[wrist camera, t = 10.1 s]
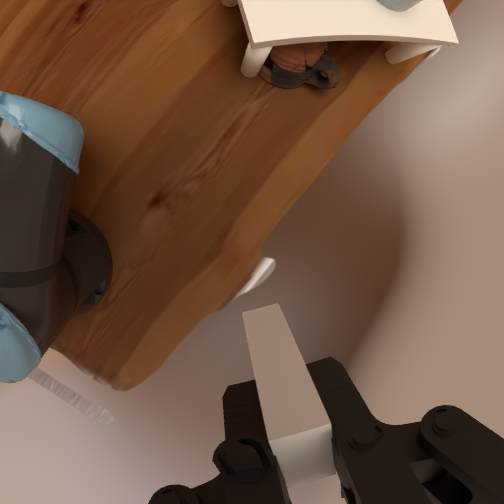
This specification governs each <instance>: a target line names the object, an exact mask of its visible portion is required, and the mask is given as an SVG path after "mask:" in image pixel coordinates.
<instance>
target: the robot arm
mask: <svg viewBox="0 0 504 504" xmlns="http://www.w3.org/2000/svg"><path fill="white" fill-rule="evenodd" d="M83 141H84V130H83V127H82V126H81V124H80V123H79V121H78V120H76V119H75V118H74V117H72V116H70V115H68V114H66V113H64V112H62V111H60V110H57V109H55V108H53V107H50V106H48V105H45V104H42V103H40V102H37V101H34V100H31V99H28V98H25V97H22V96H18V95H11V94H10V93H5V92H2V91H0V382H4V383H15V382H17V381H22V380H23V379H25V378H26V377H27V376H28V375H29V374H30V373H31V372H32V370H33V369H34V368H35V367H37V366H38V365H39V363H40V361H41V358H42V357H43V355H44V354H45V352H46V351H47V349H48V348H49V347H50V345H51V344H52V342H53V341H54V340H55V338H56V337H57V336H58V334H59V333H60V332H61V330H62V329H63V327H64V326H65V325H66V323H67V322H68V321H69V319H70V318H71V317H74V316H77V315H79V314H82V313H84V312H87V311H89V310H90V309H92V308H93V307H94V306H95V305H96V304H97V303H98V302H99V301H100V300H101V298H102V297H103V296H104V294H105V293H106V291H107V289H108V287H109V285H110V282H111V277H112V259H111V254H110V251H109V248H108V245H107V243H106V241H105V239H104V237H103V235H102V234H101V232H100V231H99V230H98V229H97V227H96V226H95V225H94V224H93V223H92V222H90V221H89V220H88V219H87V218H85V217H83V216H82V215H80V214H77V213H75V212H71V211H69V208H70V203H71V198H72V193H73V188H74V184H75V179H76V175H78V174H79V168H78V164H79V159H80V155H81V150H82V146H83ZM242 315H243V320H244V325H245V330H246V335H247V341H248V346H249V350H250V356H251V360H252V366H253V370H254V375H255V380H251V381H247V382H243V383H239V384H234V385H230V386H228V387H227V389H226V391H225V393H224V395H223V398H222V399H223V410H224V412H223V413H224V426H225V438H226V440H225V441H223V442H222V443H221V444H219V446H218V447H217V449H216V450H215V451H214V455H213V460H212V461H213V462H214V464H215V465H216V467H217V468H218V470H219V471H220V474H219V475H218V476H217V477H215V478H214V479H212V480H211V481H209V482H207V483H204V484H202V485H199V486H197V487H194V488H192V489H190V488H188V487H186V486H183V485H168V486H166V487H163V488H161V489H159V490H158V491H157V492H155V493H154V494H153V496H152V497H151V500H150V501H149V503H148V504H292V503H291V500H290V498H289V494H288V490H287V488H289V487H293V486H297V485H300V484H304V483H308V482H311V481H315V480H318V479H322V478H324V477H328V476H331V475H334V474H336V471H337V473H338V476H339V479H340V482H341V496H342V498H345V500H346V503H347V504H504V439H503V438H502V437H500V436H499V435H497V434H496V433H494V432H493V431H492V430H490V429H489V428H487V427H486V426H484V425H483V424H481V423H480V422H479V421H477V420H476V419H474V418H473V417H471V416H470V415H469V414H467V413H466V412H464V411H463V410H461V409H459V408H457V407H455V406H450V405H442V406H437V407H435V408H433V409H431V410H429V411H428V412H427V413H426V415H424V417H423V418H422V421H420V422H415V423H409V424H403V425H389V424H385V423H382V422H380V421H379V420H377V419H376V418H375V417H374V416H373V415H372V414H371V412H370V410H369V409H368V407H367V405H366V404H365V402H364V400H363V399H362V397H361V395H360V393H359V392H358V390H357V388H356V387H355V385H354V384H353V382H352V380H351V378H350V377H349V376H348V373H347V372H346V370H345V368H344V367H343V365H342V363H340V362H338V361H337V360H335V359H334V358H332V357H328V358H324V359H321V360H318V361H315V362H312V363H309V364H305V363H304V361H303V358H302V356H301V354H300V352H299V349H298V347H297V345H296V343H295V340H294V338H293V336H292V333H291V331H290V329H289V327H288V324H287V322H286V320H285V317H284V315H283V313H282V311H281V309H280V306H279V304H278V303H276V304H273V305H269V306H266V307H262V308H258V309H255V310H250V311H247V312H243V313H242Z"/></svg>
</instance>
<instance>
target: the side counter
mask: <svg viewBox="0 0 504 504" xmlns="http://www.w3.org/2000/svg"><path fill="white" fill-rule="evenodd" d="M222 4H223V5H224V6H227V7H234V6H236V5H237V4H238V5H239V8H240V11H241V15H242V18H243V21H244V25H245V28H246V32H247V35H248V39H249V43H248V46H247V50H246V53H245V56H244V59H243V62H242V65H241V73H242V74H243V75H244V76H245V77H248V78H252V77H255V76H256V75H257V74H258V73H259V71H260V69H261V67H262V65H263V63H264V62H265V60H266V58H267V56H268V54H269V53H270V51H271V49H272V47H273V46H279V45H288V44H297V43H308V42H322V41H345V40H380V41H402V42H404V43H402V44H400V45H398V46H396V47H394V48H392V49H390V50H388V51H386V53H385V58H386V60H387V61H388V62H389V63H390V64H397V63H399V62H402V61H404V60H406V59H409V58H411V57H414V56H416V55H419V54H421V53H424V52H427V51H429V50H432V49H435V48H437V47H440V46H452V45H455V44H458V40H457V37H456V34H455V31H454V29H453V26H452V23H451V20H450V18H449V15H448V12H447V10H446V8H445V5H444V3H443V0H423V1H421V2H419V3H418V4H416V5H414V6H413V7H411V8H409V9H408V10H406V11H403V12H396V11H392V10H390V9H388V8H386V7H384V6H383V5H381V4H380V3H379V2H378V1H377V0H222Z"/></svg>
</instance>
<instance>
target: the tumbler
mask: <svg viewBox="0 0 504 504" xmlns="http://www.w3.org/2000/svg"><path fill="white" fill-rule="evenodd" d="M377 1H378V2H379V3H380V4H381V5H383V6H384V7H386V8H388V9H390V10H392V11H396V12H403V11H406V10H408V9H409V8H411V7H413V6H414V5H416V4H418V3H419V2H421V1H423V0H377Z"/></svg>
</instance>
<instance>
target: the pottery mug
mask: <svg viewBox="0 0 504 504" xmlns="http://www.w3.org/2000/svg"><path fill="white" fill-rule="evenodd" d="M327 42H328V41H322V42H308V43H297V44H288V45H279V46H275V47H274V48H273V50H271V52H270V57H271V59H272V60H273V61H274V63H273V70H270V69H269V68H267V67H266V66H265V65H264V64H263V65H262V67H261V69H260V71H259V75H260V76H261V77H262V78H263V79H264V80H266V81H267V82H269V83H271V84H273V85H275V86H278V87H282V88H287V89H291V88H297V87H299V86H300V85H302V84H303V83H305V82H306V83H310V84H312V85H314V86H316V87H319V88H322V89H331V88H334V87H336V86H337V85H338V81H339V80H340V73H339V70H338V69H337V67H336V66H335V65H334V64H333V63H332V62H331V61H330V60H329V58H328V55H327V54H323V53H324V51H325V52H327V51H328V45H327ZM306 66H308V67H312V68H310V69H309V70H307V71H306ZM321 71H322V72H324V73H325V74H326V75H327V76H328V78H325V77H323V76H322V75H321Z"/></svg>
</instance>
